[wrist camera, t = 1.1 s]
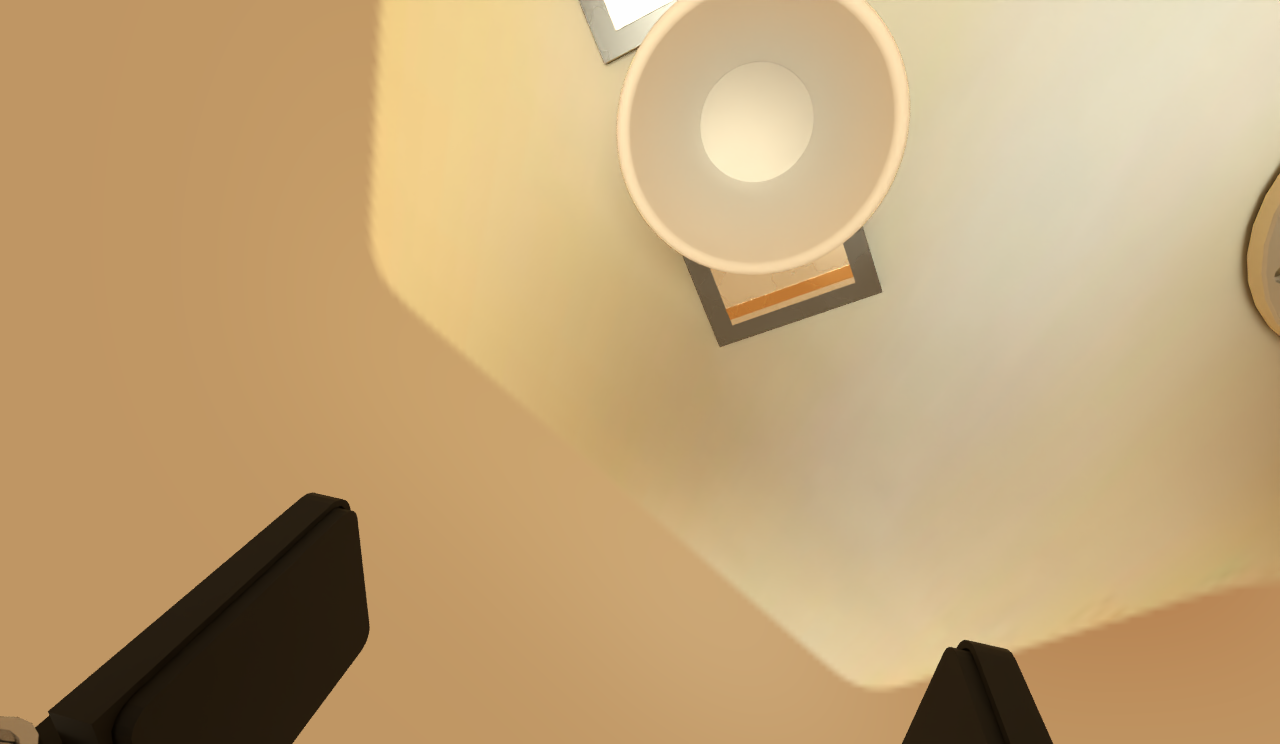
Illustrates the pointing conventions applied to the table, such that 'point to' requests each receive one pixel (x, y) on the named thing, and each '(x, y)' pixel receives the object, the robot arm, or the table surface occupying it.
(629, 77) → the dixie cup
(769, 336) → the table surface
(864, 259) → the label plate
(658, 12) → the label plate
